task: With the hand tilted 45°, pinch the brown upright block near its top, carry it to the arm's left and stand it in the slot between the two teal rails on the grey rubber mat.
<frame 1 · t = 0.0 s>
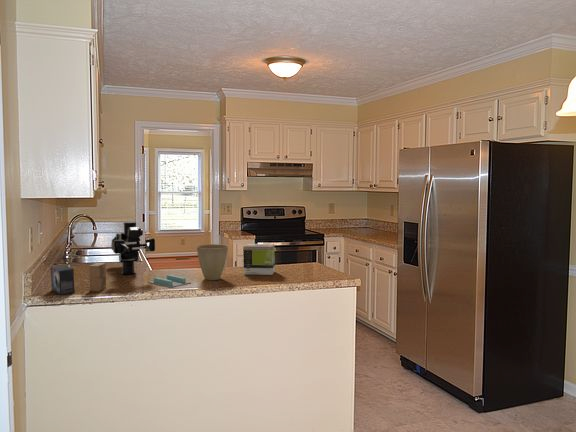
hand: (138, 248, 223), 17 cm above the worktop, tool horizontal, fingers open, 9 cm apart
rack: (169, 282, 226), on the worktop
brown upright block: (98, 289, 213), on the worktop
tea box: (259, 273, 250), on the worktop
plant pot: (212, 279, 236), on the worktop
small box: (62, 292, 208), on the worktop
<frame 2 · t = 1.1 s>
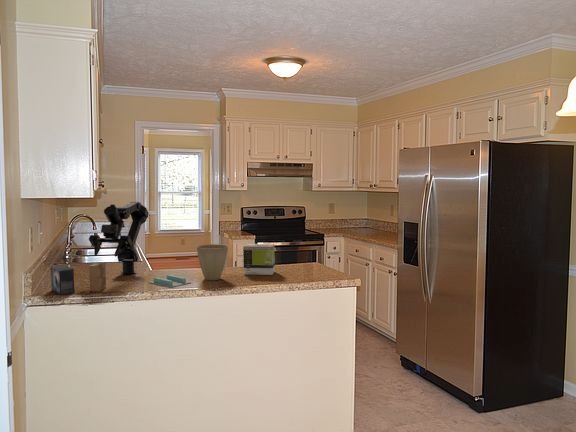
hand: (105, 255, 220), 14 cm above the worktop, tool tilted 45°, fingers open, 9 cm apart
nothing on the worktop moved.
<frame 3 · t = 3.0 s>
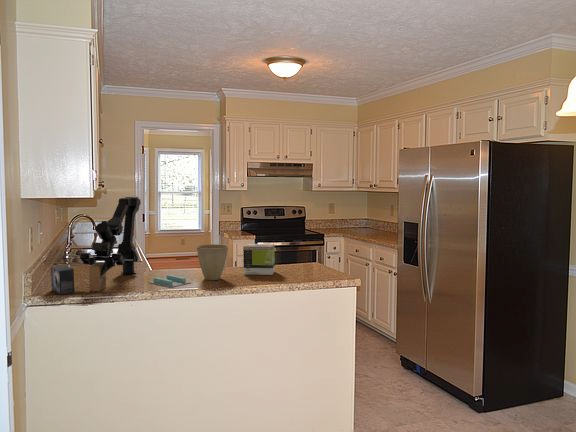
hand: (96, 274, 211), 7 cm above the worktop, tool tilted 45°, fingers closed on brown upright block, 4 cm apart
brown upright block: (98, 289, 213), on the worktop, touching gripper
everything else where it was.
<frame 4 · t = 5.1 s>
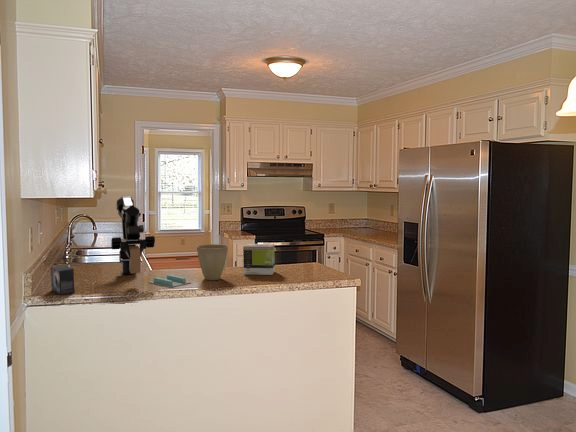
hand: (134, 257, 217), 13 cm above the worktop, tool tilted 45°, fingers closed on brown upright block, 4 cm apart
brown upright block: (134, 271, 218), point 7 cm above the worktop, touching gripper
everything else where it was.
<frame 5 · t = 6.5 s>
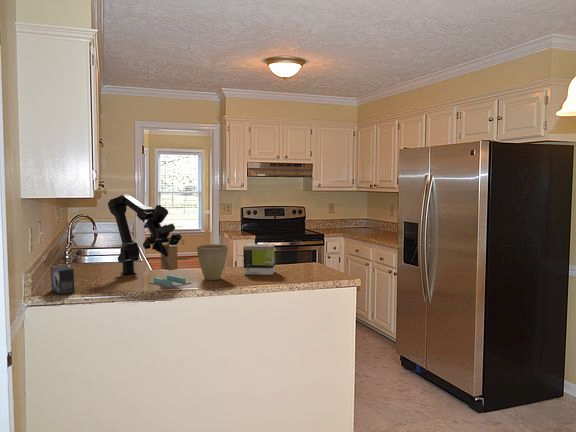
hand: (170, 255, 224), 13 cm above the worktop, tool tilted 45°, fingers closed on brown upright block, 4 cm apart
brown upright block: (169, 268, 226), point 7 cm above the worktop, touching gripper
everything else where it was.
when the fingers open (9 cm above the worktop, at t = 7.5 s): brown upright block drops 2 cm, resting on rack.
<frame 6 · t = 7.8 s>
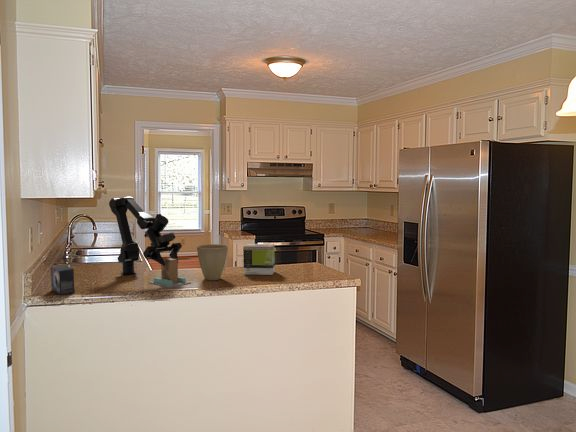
hand: (171, 264, 225), 9 cm above the worktop, tool tilted 45°, fingers open, 7 cm apart
brown upright block: (169, 282, 226), resting on rack
everything else where it was.
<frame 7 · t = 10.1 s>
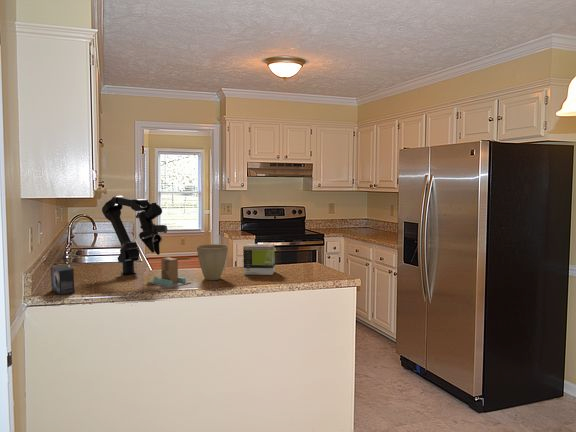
hand: (156, 253, 232), 13 cm above the worktop, tool tilted 25°, fingers open, 9 cm apart
nothing on the worktop moved.
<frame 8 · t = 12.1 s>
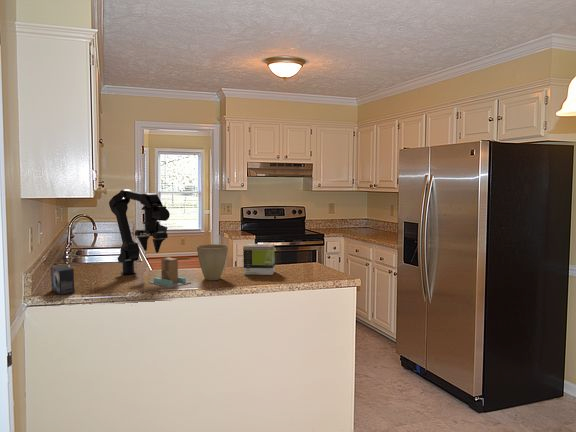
hand: (151, 251, 235), 13 cm above the worktop, tool pointing down, fingers open, 9 cm apart
nothing on the worktop moved.
at the end: brown upright block inside the target area on the rack (0.1 cm from its centre), point 0.4 cm above the rack's base; brown upright block tilted 0°; the gripper is holding nothing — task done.
